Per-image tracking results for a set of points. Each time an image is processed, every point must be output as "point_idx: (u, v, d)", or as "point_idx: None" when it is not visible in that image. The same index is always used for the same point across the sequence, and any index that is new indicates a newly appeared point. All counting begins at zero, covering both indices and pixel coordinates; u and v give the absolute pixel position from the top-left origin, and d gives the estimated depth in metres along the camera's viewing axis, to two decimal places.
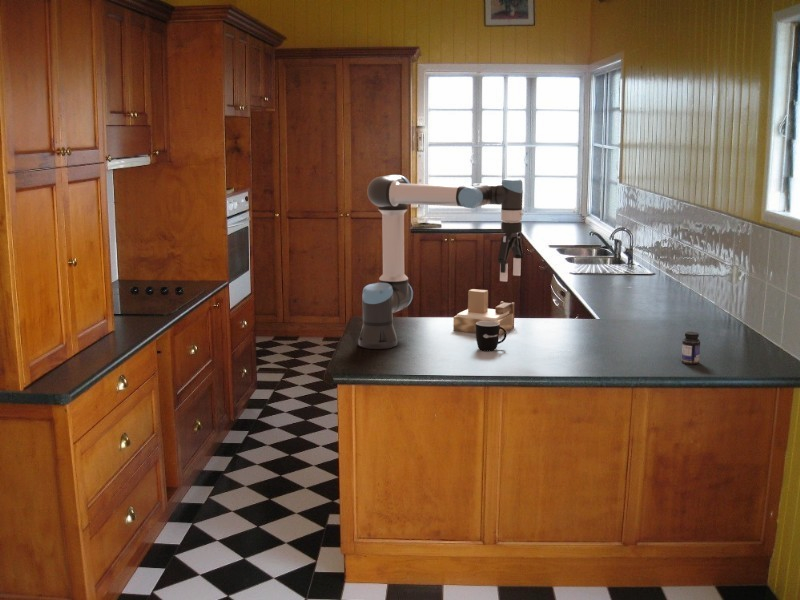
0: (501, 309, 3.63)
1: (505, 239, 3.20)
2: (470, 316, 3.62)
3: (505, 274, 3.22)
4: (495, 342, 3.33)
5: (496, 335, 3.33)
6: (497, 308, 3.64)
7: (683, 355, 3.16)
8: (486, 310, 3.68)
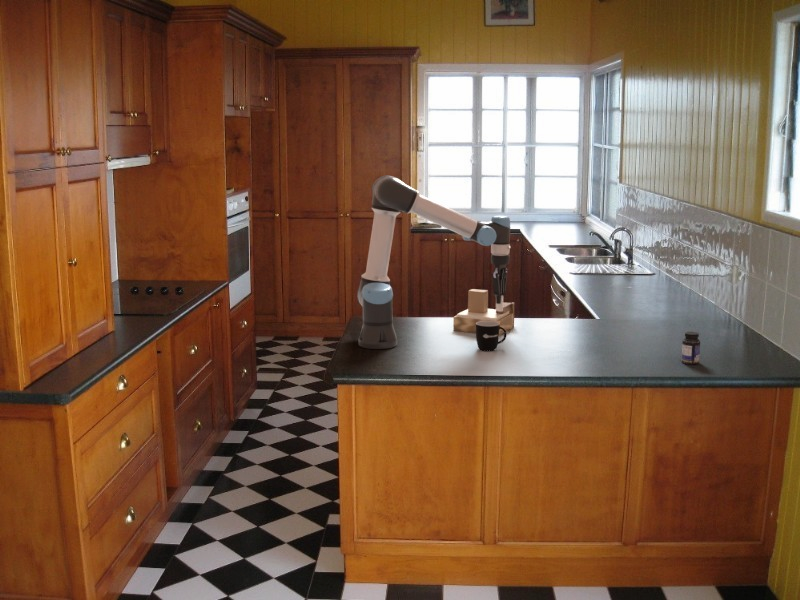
0: None
1: (495, 276, 3.55)
2: (470, 316, 3.62)
3: (500, 305, 3.62)
4: (495, 342, 3.33)
5: (496, 335, 3.33)
6: None
7: (683, 355, 3.16)
8: (486, 310, 3.68)
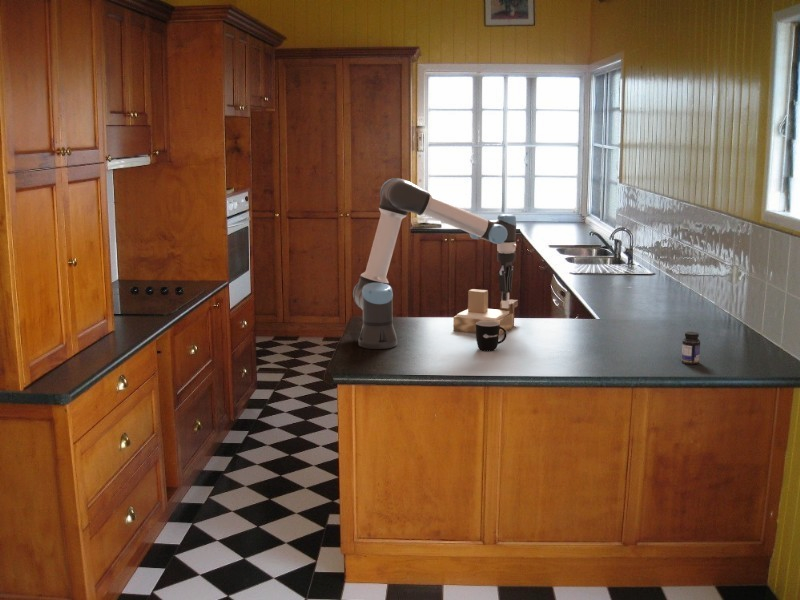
0: None
1: (502, 274, 3.61)
2: (470, 316, 3.62)
3: (506, 302, 3.68)
4: (495, 342, 3.33)
5: (496, 335, 3.33)
6: None
7: (683, 355, 3.16)
8: (486, 310, 3.68)
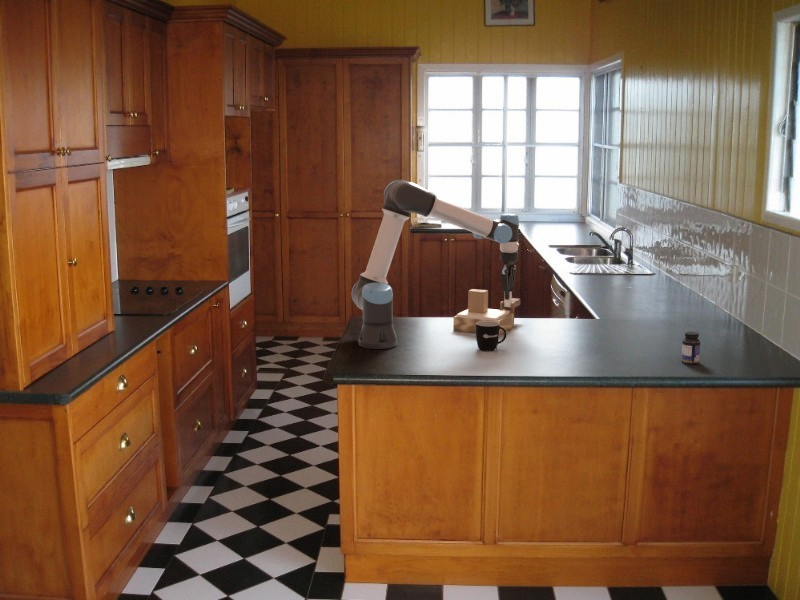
0: None
1: (504, 273, 3.64)
2: (470, 316, 3.62)
3: (509, 301, 3.71)
4: (495, 342, 3.33)
5: (496, 335, 3.33)
6: None
7: (683, 355, 3.16)
8: (486, 310, 3.68)
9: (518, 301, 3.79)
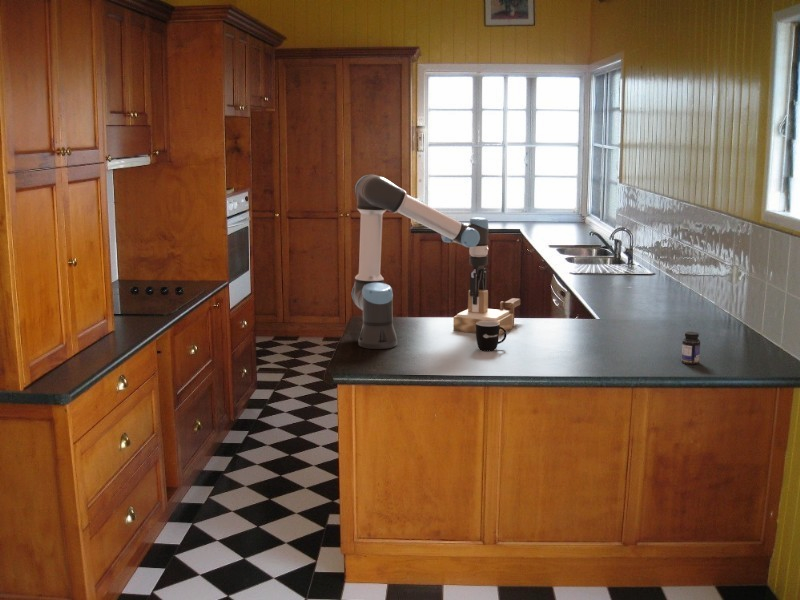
0: (510, 304, 3.73)
1: (473, 276, 3.60)
2: (470, 316, 3.62)
3: (477, 306, 3.65)
4: (495, 342, 3.33)
5: (496, 335, 3.33)
6: (506, 303, 3.73)
7: (683, 355, 3.16)
8: (486, 310, 3.68)
9: (518, 301, 3.79)
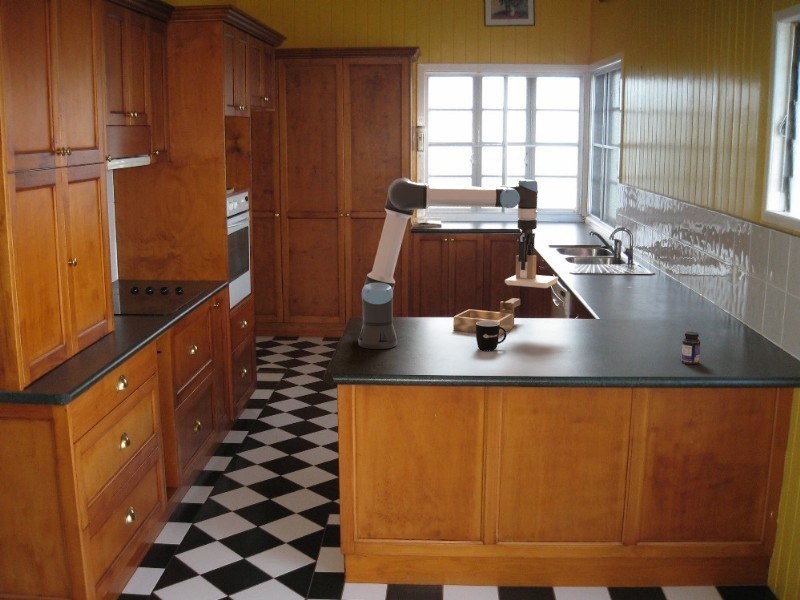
0: (510, 304, 3.73)
1: (522, 240, 3.47)
2: (519, 282, 3.49)
3: (525, 271, 3.52)
4: (495, 342, 3.33)
5: (496, 335, 3.33)
6: (506, 303, 3.73)
7: (683, 355, 3.16)
8: (534, 276, 3.55)
9: (518, 301, 3.79)
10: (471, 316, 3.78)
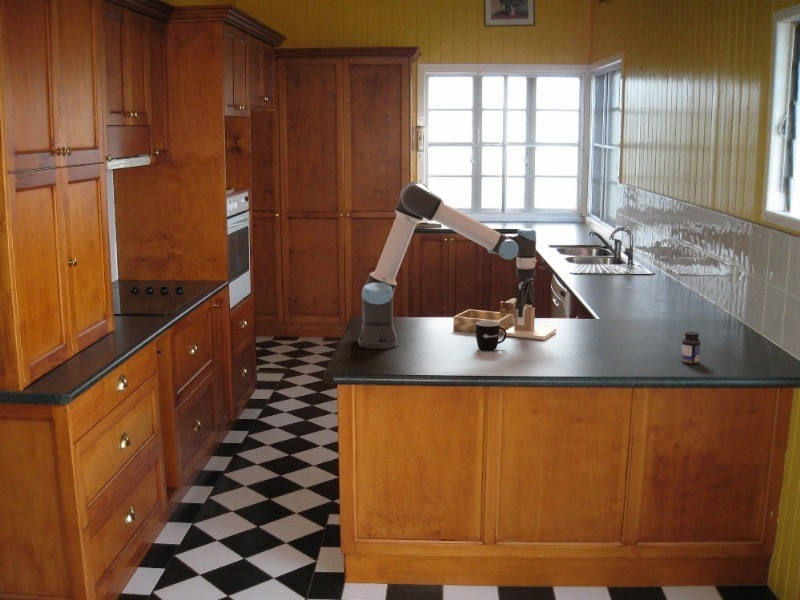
0: (510, 304, 3.73)
1: (521, 287, 3.51)
2: (517, 334, 3.54)
3: (522, 318, 3.55)
4: (495, 342, 3.33)
5: (496, 335, 3.33)
6: (506, 303, 3.73)
7: (683, 355, 3.16)
8: (533, 328, 3.59)
9: None
10: (471, 316, 3.78)
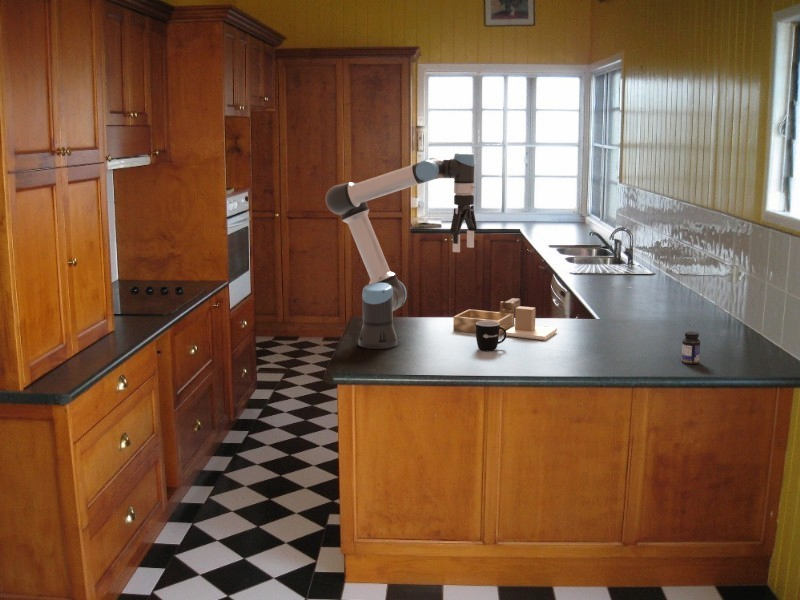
0: (510, 304, 3.73)
1: (457, 211, 3.31)
2: (518, 334, 3.53)
3: (457, 245, 3.33)
4: (495, 342, 3.33)
5: (496, 335, 3.33)
6: (506, 303, 3.73)
7: (683, 355, 3.16)
8: (533, 328, 3.59)
9: (518, 301, 3.79)
10: (471, 316, 3.78)
